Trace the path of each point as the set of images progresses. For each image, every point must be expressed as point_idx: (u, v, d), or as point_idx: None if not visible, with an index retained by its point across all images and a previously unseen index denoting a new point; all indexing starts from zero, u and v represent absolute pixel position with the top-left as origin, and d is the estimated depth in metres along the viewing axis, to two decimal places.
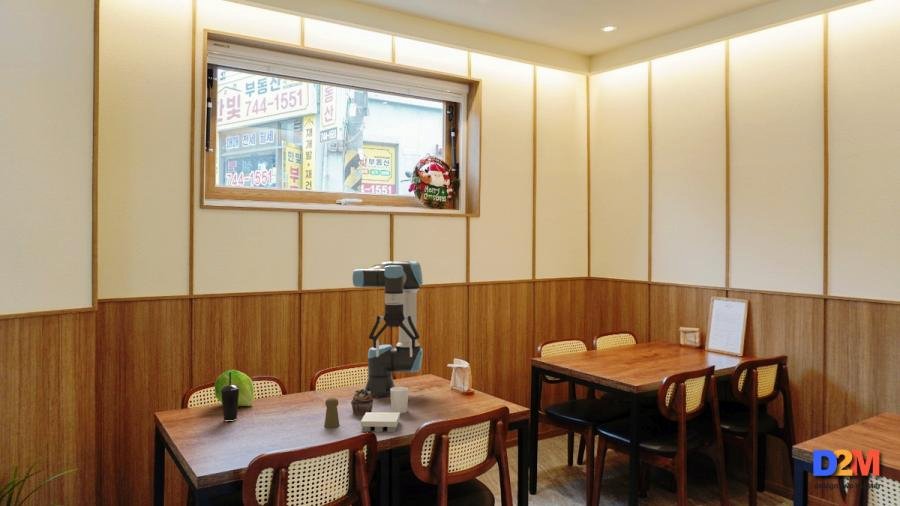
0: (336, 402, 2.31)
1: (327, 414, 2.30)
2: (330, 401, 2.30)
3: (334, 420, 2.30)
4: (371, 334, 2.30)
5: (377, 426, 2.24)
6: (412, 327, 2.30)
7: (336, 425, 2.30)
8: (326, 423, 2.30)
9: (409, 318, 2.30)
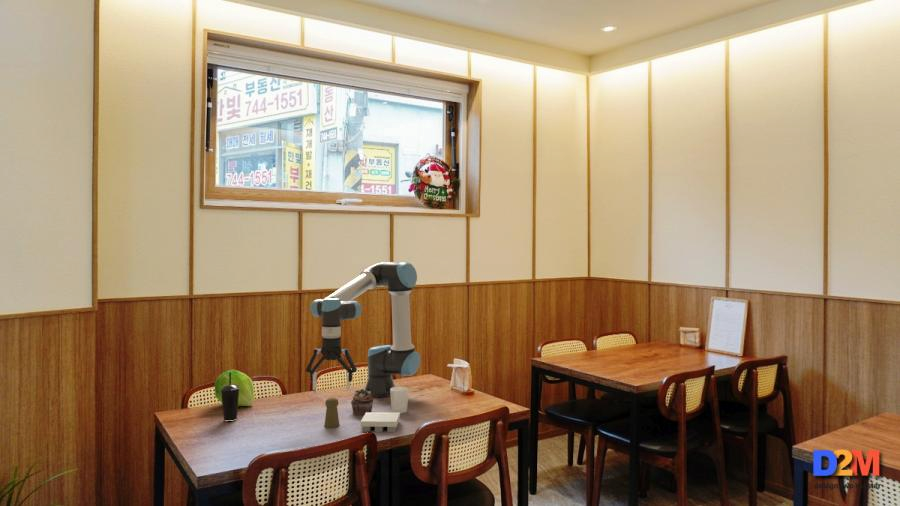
0: (336, 402, 2.31)
1: (327, 414, 2.30)
2: (330, 401, 2.30)
3: (334, 420, 2.30)
4: (308, 367, 2.30)
5: (377, 426, 2.24)
6: (349, 360, 2.30)
7: (336, 425, 2.30)
8: (326, 423, 2.30)
9: (346, 351, 2.30)
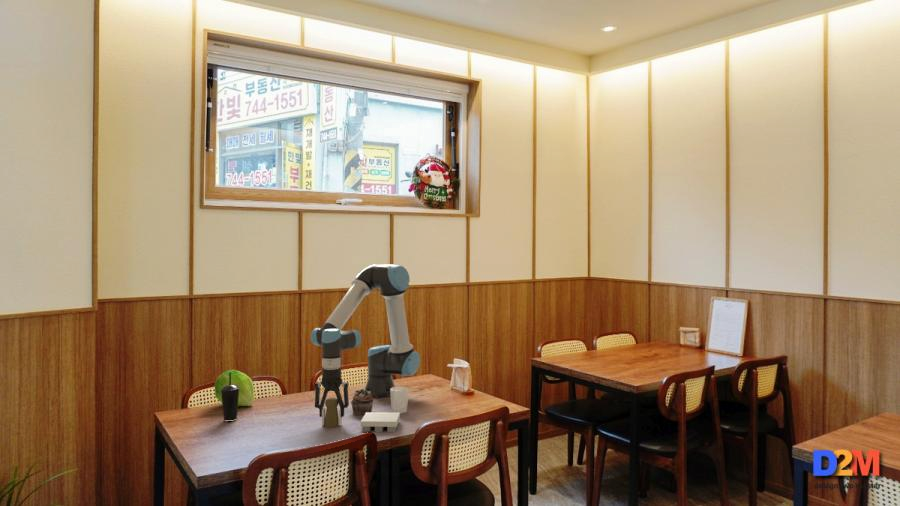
0: (336, 402, 2.31)
1: (327, 414, 2.30)
2: (330, 401, 2.30)
3: (334, 420, 2.30)
4: (316, 403, 2.31)
5: (377, 426, 2.24)
6: (345, 395, 2.30)
7: (336, 425, 2.30)
8: (326, 423, 2.30)
9: (346, 385, 2.30)
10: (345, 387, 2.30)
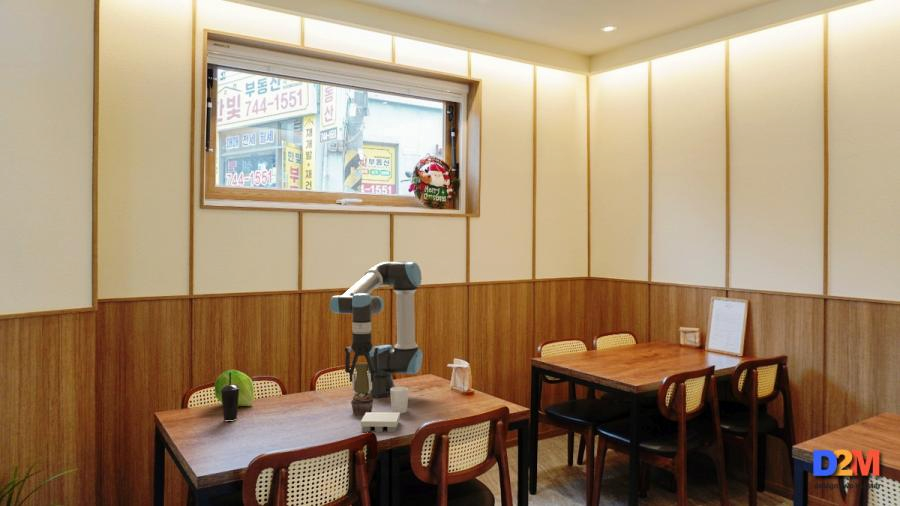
0: (366, 367, 2.29)
1: (357, 379, 2.29)
2: (360, 366, 2.28)
3: (365, 385, 2.28)
4: (346, 367, 2.30)
5: (377, 426, 2.24)
6: (375, 360, 2.29)
7: (366, 390, 2.29)
8: (356, 388, 2.29)
9: (376, 350, 2.29)
10: (375, 352, 2.29)
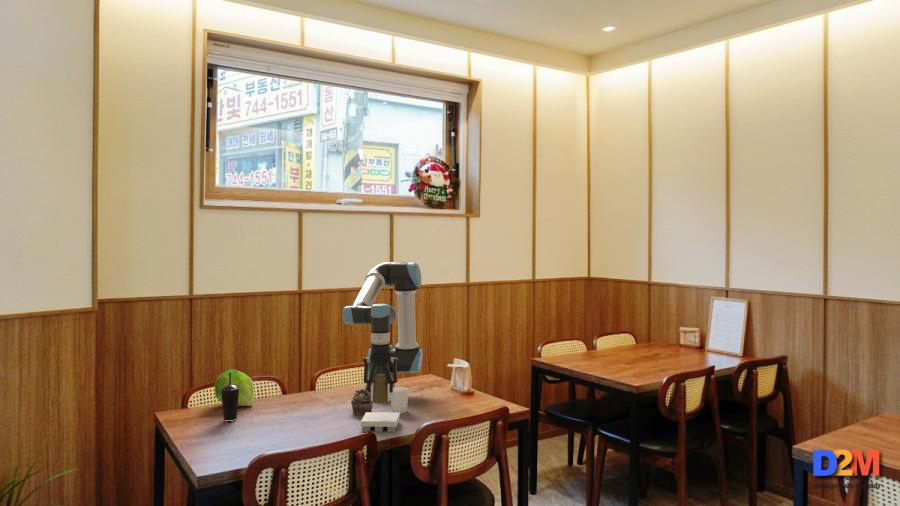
0: (385, 377, 2.29)
1: (376, 389, 2.28)
2: (379, 376, 2.28)
3: (384, 396, 2.28)
4: (365, 378, 2.29)
5: (377, 426, 2.24)
6: (394, 370, 2.29)
7: (385, 401, 2.28)
8: (375, 398, 2.28)
9: (395, 361, 2.29)
10: (394, 362, 2.29)
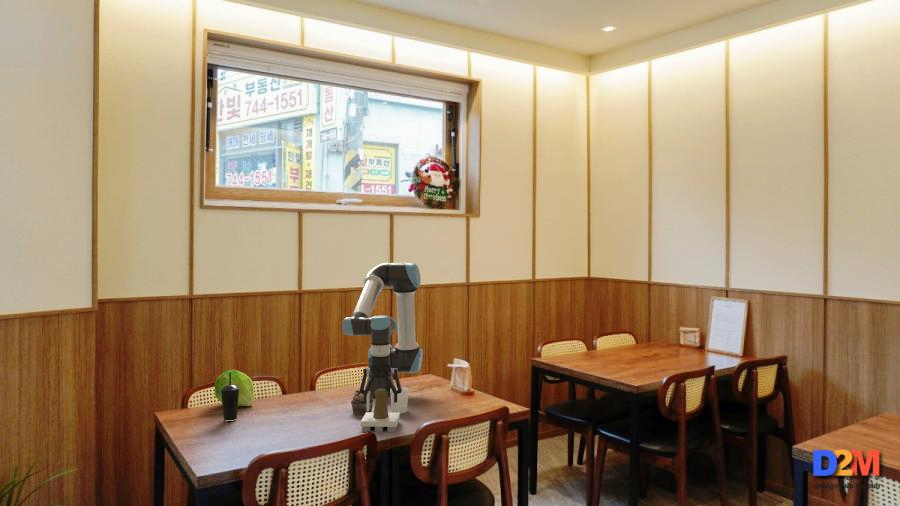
0: (386, 393, 2.28)
1: (376, 405, 2.28)
2: (380, 392, 2.27)
3: (384, 411, 2.28)
4: (361, 388, 2.29)
5: (377, 426, 2.24)
6: (396, 381, 2.29)
7: (385, 416, 2.28)
8: (375, 414, 2.28)
9: (395, 371, 2.29)
10: (395, 373, 2.29)
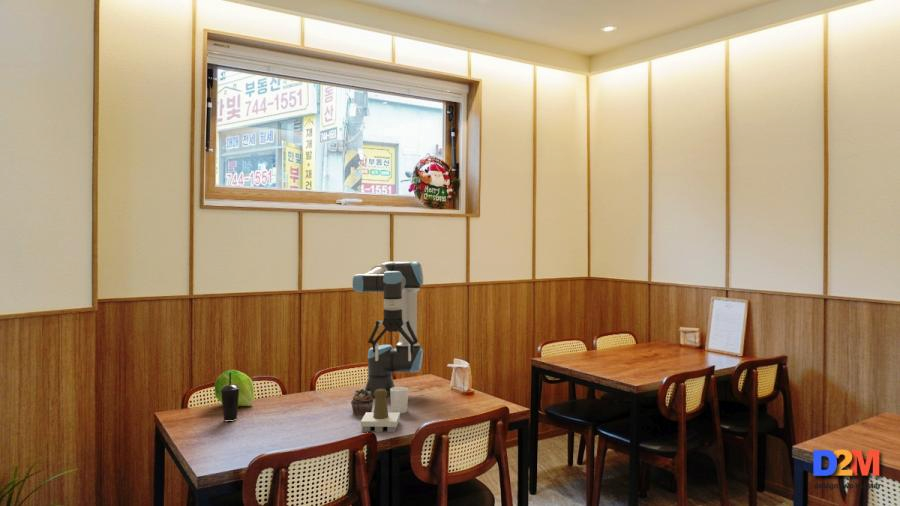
0: (385, 393, 2.29)
1: (376, 405, 2.28)
2: (379, 392, 2.28)
3: (384, 411, 2.28)
4: (370, 339, 2.35)
5: (377, 426, 2.24)
6: (410, 332, 2.34)
7: (385, 416, 2.28)
8: (375, 414, 2.28)
9: (407, 323, 2.34)
10: (408, 325, 2.34)
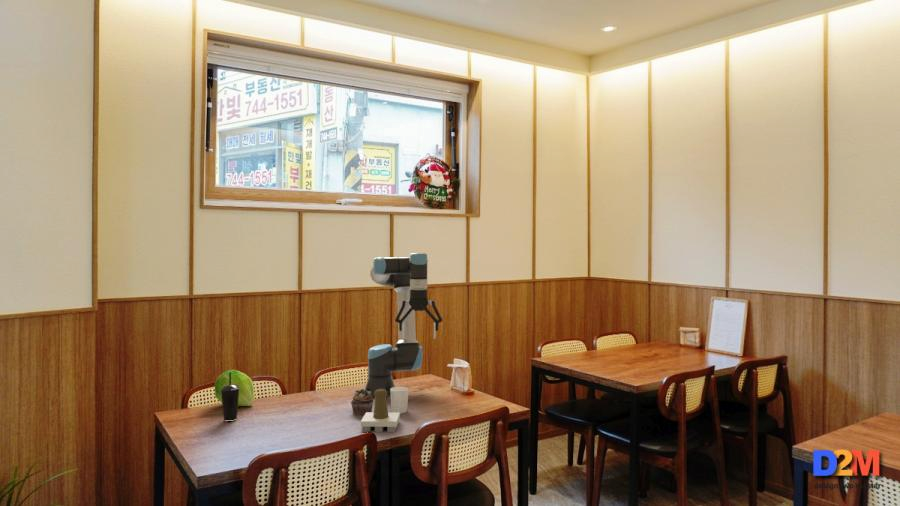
0: (385, 393, 2.29)
1: (376, 405, 2.28)
2: (379, 392, 2.28)
3: (384, 411, 2.28)
4: (397, 317, 2.45)
5: (377, 426, 2.24)
6: (436, 311, 2.45)
7: (385, 416, 2.28)
8: (375, 414, 2.28)
9: (433, 302, 2.45)
10: (433, 304, 2.45)
